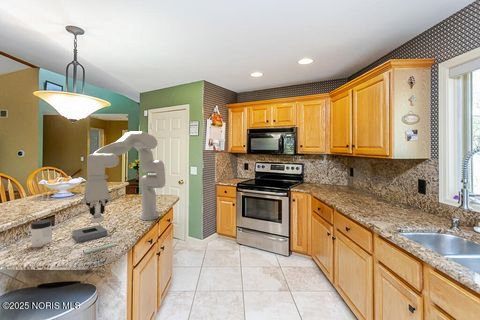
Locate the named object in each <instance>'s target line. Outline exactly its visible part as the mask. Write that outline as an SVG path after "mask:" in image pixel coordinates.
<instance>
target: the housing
mask: <svg viewBox="0 0 480 320" xmlns="http://www.w3.org/2000/svg"><path fill="white" fill-rule="evenodd" d="M71 233H72V237H73V239H74V240H75V241H76V242H77V244H79V243H83V242H86V241H87V242H88V241H91V240H95V239H100V238H104V237H108V230H107V229H106V228H105V227H104V226H103V225H101V224H98V225H93V226H88V227H85V228H84V227H83V228H79V229H74V230H72V231H71Z"/></svg>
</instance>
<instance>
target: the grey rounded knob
mask: <svg viewBox="0 0 480 320" xmlns="http://www.w3.org/2000/svg"><path fill="white" fill-rule="evenodd" d="M93 207H94V215H93V216H92V217H91V218H90V223H93V224H94V223H101V222H104V221H105V219H104V218H105V217H104V215H102V214H101V202H93Z"/></svg>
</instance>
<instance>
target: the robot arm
mask: <svg viewBox="0 0 480 320" xmlns="http://www.w3.org/2000/svg"><path fill="white" fill-rule="evenodd" d="M157 146H158V139H157V138H156V137H155V136H154V135H151V134H150V133H149V132H145V131H135V130H133V131H127V132H125V134H123V135H122V136H120V138H119V139H117V140H116V141H114V142H112V143H109V144H107V145H104V146H102V147H100V148H98V149H97V150H95V151H94V152H93V153H91V154H90V153H89V154H88V155H87V157H86V160H87V161H86V162H87V165H86V166H87V181H85V183H84V194H83V195H84V196H83V198H82V199H81V201H80V203H81V204H83V205H86V206H87V207H88V208H89V214H90V215H91V216H92V217H93V215H94V207H93V204H94V203H95V202H98V201H100V203H101V215H103V214H104V212H105V211H106V208H105V206H106V204H108V203H109V202H111V200H112V199H113V198H112V196H111V194H110V193H109V185H108V181H107V179H108V178H109V175H107V174H106V168H114V167H117V166H118V165H119V163H120V157H119V156H121V155H124V154H127V153H128V152H129V151H130V150H131V149H132V148H134V149H135V150H136V151H137V152H138V153H139V158H140V159H139V160H140V168H141V172H142V173H144V175H142V176H141V177H140V180H139V184H140V187H141V189H140V190H141V209H142V210H141V211H142V214H141V216H140V217H139V219H140V221H141V220H142V221H153V220H156V219H158V218H159V215H161V214H163V213H164V212H163V210H157V194H156V193H157V192H156V190H155V189H163V188H164V187H165V186H166V183H167V181H166V168H165V163H164V162H163V161H162V160H160V159H154V155H153V151H152V150H153V149H156V148H157Z"/></svg>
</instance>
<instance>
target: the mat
mask: <svg viewBox="0 0 480 320" xmlns="http://www.w3.org/2000/svg"><path fill="white" fill-rule="evenodd" d="M116 246H118V243H116V242H111V243H107V244H103V245H99V246H95V247H92V248H87V249H84V250H82V252H83V254H84V255H87V254H91V253H95V252H98V250H99V251H103V250H106V249H110V248H114V247H116ZM102 249H103V250H102Z"/></svg>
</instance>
